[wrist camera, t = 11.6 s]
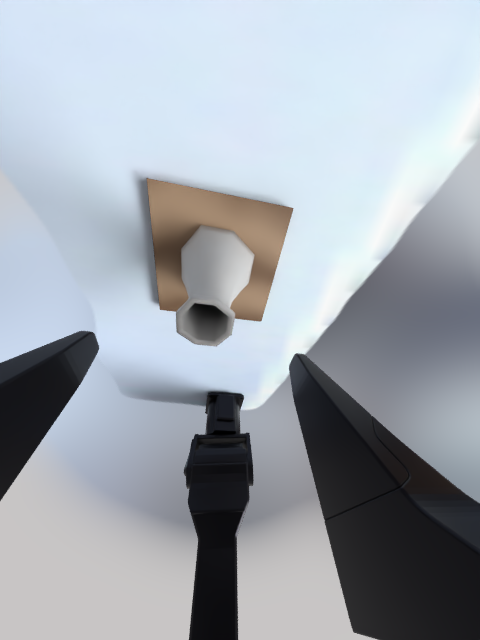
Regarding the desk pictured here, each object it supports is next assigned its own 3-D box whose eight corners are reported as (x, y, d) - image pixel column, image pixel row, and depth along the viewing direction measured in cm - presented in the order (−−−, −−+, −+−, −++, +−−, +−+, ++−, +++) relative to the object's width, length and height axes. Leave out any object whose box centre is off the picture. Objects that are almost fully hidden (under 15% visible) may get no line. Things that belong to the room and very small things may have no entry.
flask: (195, 208, 15) (151, 221, 7) (267, 250, 17) (300, 299, 9) (171, 280, 18) (122, 347, 10) (233, 307, 21) (234, 380, 12)
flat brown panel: (259, 312, 24) (261, 321, 22) (165, 301, 22) (159, 309, 20) (287, 207, 17) (293, 208, 15) (155, 180, 15) (146, 178, 14)
